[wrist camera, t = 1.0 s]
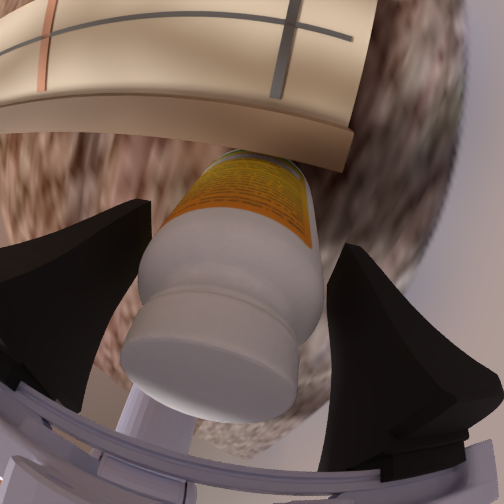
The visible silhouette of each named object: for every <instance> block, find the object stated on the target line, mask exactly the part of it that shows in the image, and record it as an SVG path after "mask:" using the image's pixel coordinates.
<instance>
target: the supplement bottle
mask: <svg viewBox="0 0 504 504" xmlns="http://www.w3.org/2000/svg"><path fill="white" fill-rule="evenodd" d="M138 289H139V295H140V299H141V302H142V305H143V307H142V308H141V309H140V310H139V312H138V313H137V315H136V317H135V319H134V321H133V324H132V326H131V328H130V330H129V332H128V334H127V336H126V339H125V341H124V343H123V345H122V347H121V351H120V362H121V365H122V368H123V370H124V372H125V373H126V375H127V376H128V378H129V379H130V380H131V381H132V382H133V383H134V384H135V385H136V386H137V387H138V388H139V389H140V390H141V391H143V392H144V393H145V394H147V395H148V396H150V397H152V398H153V399H155V400H156V401H158V402H160V403H162V404H164V405H166V406H168V407H170V408H172V409H174V410H177V411H179V412H182V413H184V414H187V415H191V416H194V417H198V418H201V419H206V420H211V421H217V422H225V423H254V422H261V421H265V420H270V419H273V418H276V417H278V416H280V415H282V414H284V413H285V412H286V411H288V410H289V409H290V408H291V407H292V405H293V404H294V402H295V400H296V396H297V385H298V369H299V362H300V354H299V349H298V347H299V346H301V345H302V344H303V343H304V342H305V341H306V340H307V339H308V338H309V337H310V336H311V334H312V333H313V331H314V330H315V328H316V326H317V324H318V322H319V320H320V317H321V313H322V309H323V300H324V283H323V271H322V264H321V256H320V248H319V240H318V233H317V226H316V219H315V212H314V205H313V199H312V196H311V191H310V187H309V185H308V182H307V180H306V178H305V176H304V175H303V173H302V172H301V170H300V169H299V168H298V167H297V166H296V165H295V164H294V163H293V162H292V161H290V160H289V159H285V158H281V157H276V156H272V155H267V154H262V153H257V152H252V151H247V150H242V149H236V150H233V151H230V152H228V153H226V154H224V155H222V156H220V157H219V158H218V159H216V160H215V161H214V162H213V163H212V164H211V165H210V166H209V167H208V168H207V169H206V170H205V171H204V173H203V174H202V175H201V176H200V178H199V179H198V180H197V181H196V183H195V184H194V185H193V186H192V187H191V189H190V190H189V191H188V192H187V194H186V195H185V196H184V198H183V199H182V200H181V201H180V203H179V204H178V205H177V206H176V208H175V209H174V210H173V212H172V213H171V214H170V215H169V217H168V218H167V219H166V221H165V222H164V223H163V225H162V226H161V227H160V229H159V230H158V231H157V233H156V234H155V235H154V237H153V238H152V240H151V241H150V243H149V245H148V247H147V248H146V250H145V252H144V254H143V256H142V259H141V262H140V266H139V271H138Z"/></svg>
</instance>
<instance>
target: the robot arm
mask: <svg viewBox="0 0 504 504" xmlns="http://www.w3.org/2000/svg"><path fill="white" fill-rule="evenodd" d="M151 240H152V228H151V201H148V200H142V199H133V200H130V201H127V202H125V203H122V204H120V205H117V206H115V207H113V208H111V209H108V210H106V211H104V212H102V213H99V214H97V215H95V216H93V217H90V218H88V219H86V220H83V221H81V222H79V223H76V224H74V225H72V226H69V227H67V228H64V229H62V230H59V231H57V232H54V233H51V234H48V235H45V236H42V237H39V238H36V239H32V240H29V241H26V242H22V243H19V244H15V245H11V246H7V247H3V248H0V479H1V480H2V482H1V486H0V504H196V499H197V488H196V485H195V484H194V483H199V484H203V485H208V486H213V487H219V488H225V489H230V490H237V491H244V492H252V493H262V494H274V495H294V496H323V495H324V496H325V495H332V496H331V497H329V498H328V499H324V500H303V501H291V502H288V503H274V504H490V503H492V502H494V501H495V500H497V499H498V497H499V495H498V481H497V471H496V463H495V456H494V451H493V444H492V440H491V439H489V440H486V441H483V442H480V443H477V444H474V445H471V446H469V447H466V448H465V447H464V441H466V440H467V439H468V438H469V432H468V429H469V428H470V427H472V426H473V425H475V424H476V423H478V422H479V421H481V420H482V419H483V418H485V417H486V416H488V415H489V414H490V413H492V412H493V411H494V410H495V409H496V408H497V407H498V406H499V405H500V404H501V402H502V401H503V399H504V391H503V388H502V385H501V382H500V379H499V377H498V375H497V374H496V373H494V372H493V371H491V370H490V369H488V368H486V367H485V366H483V365H482V364H480V363H478V362H477V361H475V360H474V359H473V358H471V357H470V356H469V355H467V354H466V353H465V352H463V351H462V350H460V349H459V348H458V347H457V346H455V345H454V344H453V343H452V342H450V341H449V340H448V339H447V338H446V337H445V336H444V335H442V334H441V333H440V332H439V331H438V330H437V329H436V328H434V327H433V326H432V325H431V324H430V323H429V322H428V321H427V320H426V319H425V318H424V317H423V316H422V315H421V314H420V313H419V312H418V311H417V310H416V309H415V308H414V307H413V306H412V305H411V304H410V303H409V301H408V300H407V299H406V298H405V297H404V296H403V295H402V294H401V292H400V291H399V290H398V289H397V288H396V287H395V285H394V284H393V283H392V282H391V281H390V280H389V278H388V277H387V276H386V275H385V274H384V272H383V271H382V270H381V269H380V268H379V266H378V265H377V264H376V263H375V262H374V260H373V259H372V258H371V257H370V256H369V255H368V254H367V253H366V251H365V250H364V249H363V248H361V247H360V246H356V245H352V244H348V243H345V245H344V247H343V250H342V252H341V254H340V257H339V259H338V261H337V263H336V266H335V268H334V270H333V273H332V275H331V277H330V279H329V281H328V284H327V318H328V328H329V338H330V348H331V362H332V375H331V393H330V404H329V414H328V421H327V428H326V434H325V440H324V445H323V450H322V455H321V459H320V463H319V468H318V471H317V472H300V471H284V470H272V469H262V468H254V467H247V466H240V465H234V464H228V463H222V462H217V461H212V460H207V459H203V458H199V457H195V456H190V455H188V452H189V448H190V444H191V440H192V436H193V432H194V428H195V424H196V420H197V417H194V416H191V415H187V414H184V413H182V412H179V411H177V410H174V409H172V408H170V407H168V406H166V405H164V404H162V403H160V402H158V401H156V400H155V399H153V398H152V397H150V396H148V395H147V394H145V393H144V392H143V391H141V390H140V389H139V388H138V387H137V386H136V385H135V384H133V386H132V389H131V391H130V394H129V396H128V399H127V401H126V404H125V407H124V409H123V412H122V414H121V417H120V419H119V422H118V425H117V427H116V430H115V431H114V430H112V429H109V428H107V427H105V426H102V425H100V424H98V423H95V422H94V421H91V420H89V419H87V418H85V417H83V416H81V415H79V414H77V413H79V412H81V408H82V403H83V398H84V394H85V390H86V385H87V381H88V378H89V375H90V371H91V368H92V365H93V362H94V359H95V356H96V353H97V350H98V348H99V345H100V342H101V340H102V337H103V335H104V333H105V330H106V328H107V326H108V323H109V321H110V319H111V317H112V315H113V313H114V311H115V310H116V308H117V306H118V305H119V303H120V301H121V300H122V298H123V297H124V295H125V293H126V292H127V290H128V289H129V287H130V286H131V284H132V282H133V281H134V279H135V278H136V276H137V275H138V271H139V266H140V262H141V259H142V256H143V254H144V252H145V250H146V248H147V247H148V245H149V243H150V241H151ZM50 425H52V426H54V427H55V428H57V429H59V430H61V431H62V432H64V433H66V434H68V435H70V436H71V437H73V438H75V439H77V440H79V441H81V442H83V443H85V444H87V445H89V446H91V447H93V448H94V449H92V450H91V452H90V453H89V454H88V453H86V452H84V451H83V450H81V449H80V448H78V447H77V446H76V445H74V444H73V443H72V442H70V441H68V440H66V439H65V438H63V437H62V436H60V435H58V434H57V433H55V432H53V431H52V427H51V426H50Z"/></svg>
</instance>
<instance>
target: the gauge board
mask: <svg viewBox="0 0 504 504" xmlns="http://www.w3.org/2000/svg"><path fill="white" fill-rule="evenodd" d="M376 5H377V0H35V1H33V2H31V3H29V4H27V5H25V6H23V7H21V8H19V9H17V10H15V11H13V12H11V13H10V14H8V15H6V16H4V17H3V18H1V19H0V134H9V133H26V132H96V133H115V134H130V135H142V136H152V137H161V138H170V139H178V140H186V141H193V142H200V143H207V144H213V145H219V146H225V147H231V148H237V149H242V150H247V151H252V152H257V153H262V154H267V155H272V156H276V157H281V158H285V159H289V160H294V161H298V162H302V163H306V164H310V165H314V166H318V167H322V168H325V169H329V170H333V171H336V172H340V173H342V172H343V169H344V166H345V163H346V160H347V156H348V153H349V150H350V146H351V143H352V140H353V136H354V132H353V131H352V130H351V129H349V128H348V125H349V122H350V118H351V114H352V111H353V107H354V103H355V99H356V95H357V91H358V87H359V83H360V79H361V75H362V71H363V67H364V63H365V58H366V54H367V50H368V45H369V40H370V36H371V31H372V26H373V21H374V16H375V11H376Z"/></svg>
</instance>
